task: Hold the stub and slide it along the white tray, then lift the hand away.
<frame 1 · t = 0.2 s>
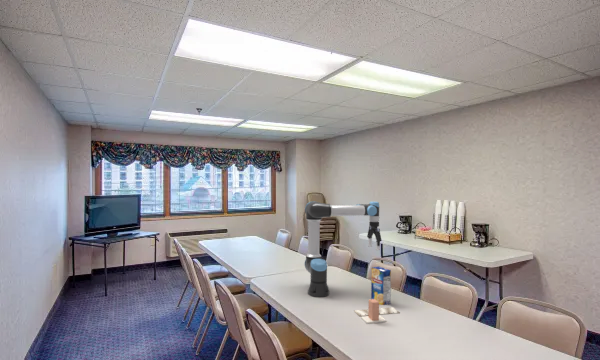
hand: (373, 248, 255), 28 cm above the table, fingers open, 13 cm apart
white tray: (380, 317, 190), on the table
stub: (373, 310, 184), point 7 cm above the table, slide at 0.0 cm
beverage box: (380, 302, 215), on the table
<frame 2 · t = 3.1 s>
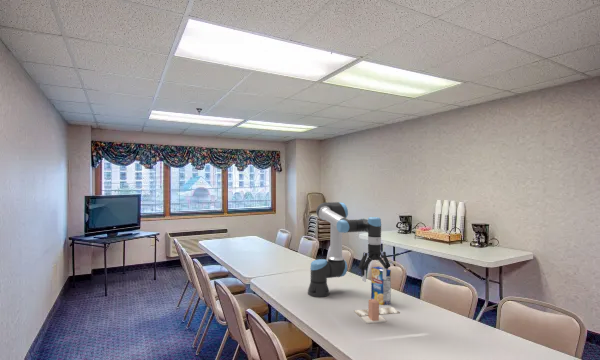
hand: (374, 280, 190), 22 cm above the table, fingers open, 13 cm apart
nothing on the table moved.
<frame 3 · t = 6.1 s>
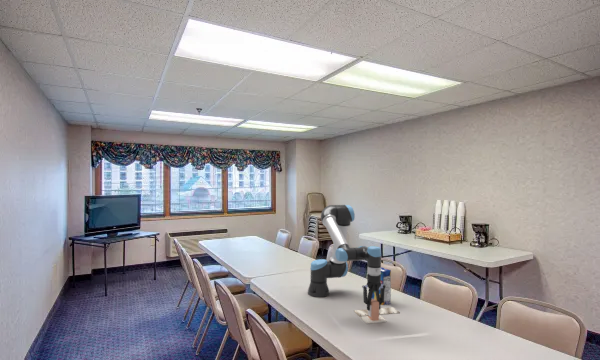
hand: (373, 315, 184), 4 cm above the table, fingers closed on stub, 4 cm apart
stub: (373, 310, 184), point 7 cm above the table, slide at 0.0 cm, touching gripper
everything else where it was.
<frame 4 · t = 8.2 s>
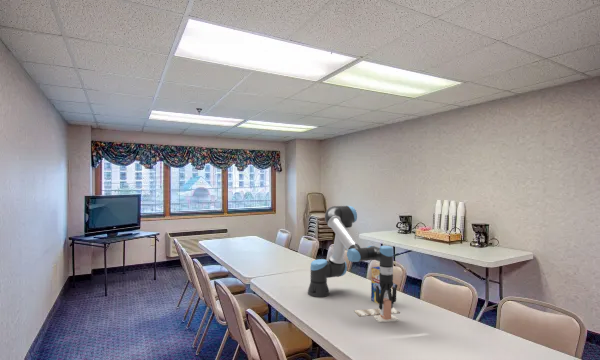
hand: (385, 314, 186), 4 cm above the table, fingers closed on stub, 4 cm apart
stub: (385, 309, 186), point 6 cm above the table, slide at 7.6 cm, touching gripper
everything else where it was.
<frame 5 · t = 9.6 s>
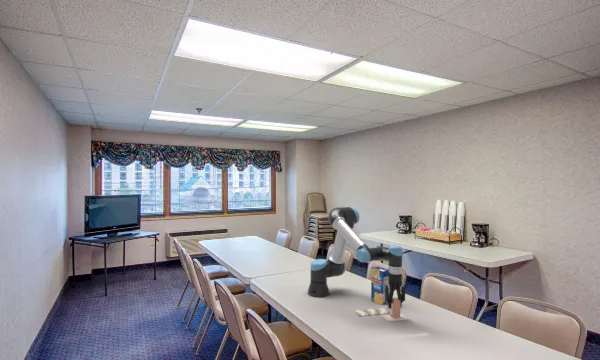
hand: (394, 313, 187), 4 cm above the table, fingers closed on stub, 4 cm apart
stub: (394, 308, 187), point 7 cm above the table, slide at 13.4 cm, touching gripper
everything else where it was.
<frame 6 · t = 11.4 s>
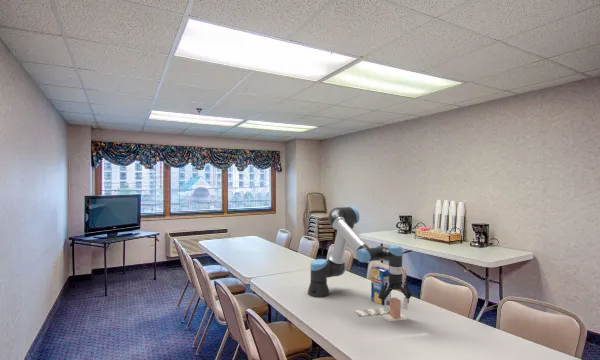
hand: (395, 309, 187), 6 cm above the table, fingers open, 13 cm apart
stub: (395, 308, 187), point 6 cm above the table, slide at 13.5 cm
everything else where it was.
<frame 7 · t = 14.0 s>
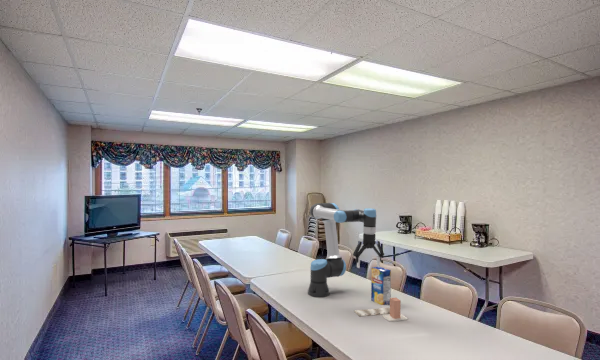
hand: (368, 267, 203), 26 cm above the table, fingers open, 13 cm apart
nothing on the table moved.
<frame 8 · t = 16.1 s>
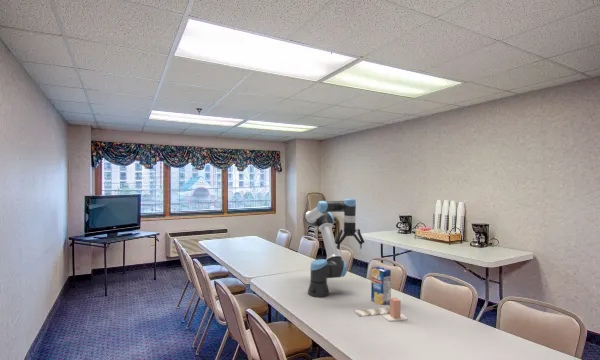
hand: (349, 254, 215), 32 cm above the table, fingers open, 13 cm apart
nothing on the table moved.
at the end: stub slide at 13.5 cm; the gripper is holding nothing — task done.
